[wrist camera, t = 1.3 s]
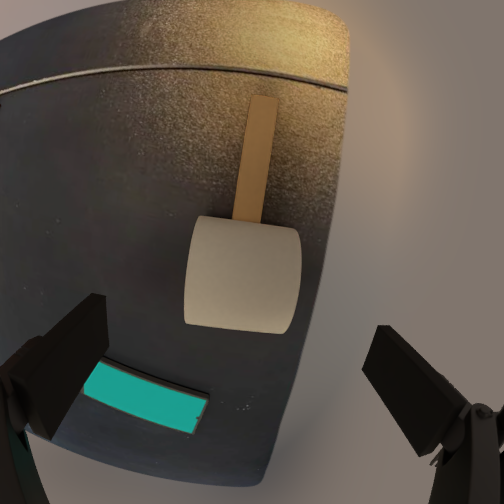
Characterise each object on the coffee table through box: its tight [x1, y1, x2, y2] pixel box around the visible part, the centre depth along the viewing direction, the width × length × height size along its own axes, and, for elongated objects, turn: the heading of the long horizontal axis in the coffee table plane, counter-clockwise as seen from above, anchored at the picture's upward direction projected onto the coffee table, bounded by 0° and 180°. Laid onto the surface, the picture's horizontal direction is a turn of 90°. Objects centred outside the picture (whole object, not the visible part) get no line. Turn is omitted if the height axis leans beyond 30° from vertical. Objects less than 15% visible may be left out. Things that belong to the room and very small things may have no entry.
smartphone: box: [81, 357, 209, 434], centre depth 27 cm, size 7×1×15 cm
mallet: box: [184, 94, 302, 334], centre depth 20 cm, size 18×7×8 cm, turn 171°
